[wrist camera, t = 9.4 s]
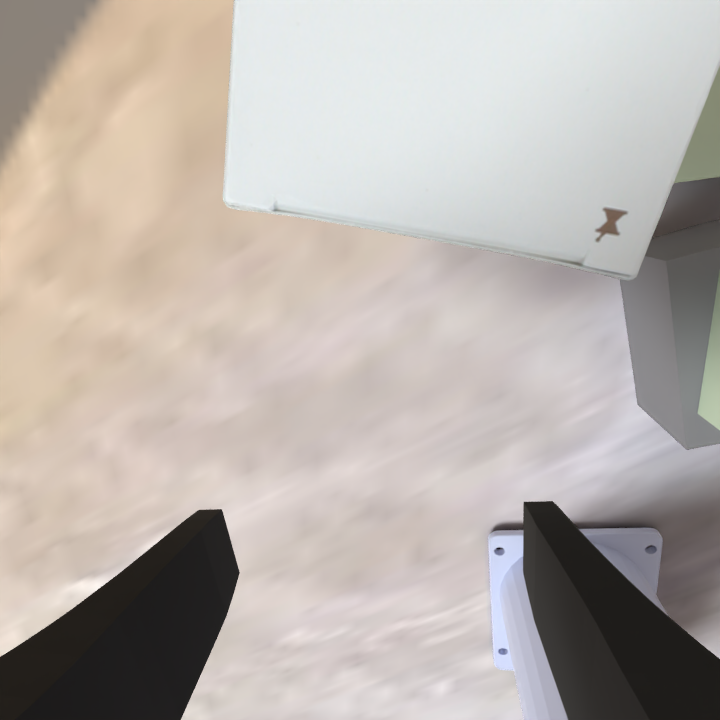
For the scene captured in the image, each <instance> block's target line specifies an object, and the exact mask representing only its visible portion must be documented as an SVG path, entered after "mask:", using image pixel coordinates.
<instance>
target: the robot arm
mask: <svg viewBox="0 0 720 720" xmlns="http://www.w3.org/2000/svg"><path fill="white" fill-rule="evenodd" d="M662 544H663V538H662V536H661V535H660V533H659V532H658V531H657V530H656V529H654V528H603V529H578V528H577V527H576V526H575V525H574V524H573V522H572V521H571V520H570V519H569V518H568V517H567V516H566V515H565V514H564V513H563V511H562V510H561V509H560V508H559V507H558V506H557V505H556V504H555V503H554V502H553V501H547V502H524V525H523V530H499V531H493V532H492V533H490V534H489V536H488V552H489V574H490V597H491V619H492V641H493V659H494V664H495V666H496V667H497V668H498V669H500V670H514V674H515V679H516V684H517V689H518V694H519V699H520V704H521V709H522V714H523V718H524V720H720V659H719V658H718V657H716V656H715V655H714V654H713V653H711V652H710V651H709V650H708V649H706V648H705V647H704V646H703V645H701V644H700V643H699V642H698V641H697V640H695V639H694V638H693V637H692V636H691V635H689V634H688V633H687V632H686V631H685V630H683V629H682V628H681V627H680V626H679V625H678V624H677V623H675V622H674V621H673V620H672V619H671V618H670V617H669V616H668V614H667V613H666V611H665V609H664V608H663V606H662V604H661V603H660V601H659V599H658V598H657V596H656V595H657V587H658V578H659V569H660V561H661V552H662ZM650 545H652V546H651V547H649V548H646V547H647V546H650ZM498 547H501V548H502V549H500V550H497V549H496V548H498ZM238 576H239V569H238V566H237V562H236V558H235V555H234V551H233V548H232V544H231V540H230V537H229V533H228V530H227V526H226V522H225V519H224V515H223V512H222V509H217V510H198V511H197V512H196V513H194V514H193V515H191V516H190V517H189V518H188V519H186V520H185V521H184V522H182V523H181V524H180V525H179V526H177V527H176V528H175V529H174V530H172V531H171V532H170V533H169V534H168V535H166V536H165V537H164V538H163V539H161V540H160V541H159V542H158V543H157V544H155V545H154V546H153V547H152V548H150V549H149V550H148V551H147V552H145V553H144V554H143V555H142V556H140V557H139V558H138V559H137V560H135V561H134V562H133V563H132V564H131V565H129V566H128V567H127V568H126V569H124V570H123V571H122V572H121V573H119V574H118V575H117V576H115V577H114V578H113V579H111V580H110V581H109V582H107V583H106V584H105V585H103V586H102V587H101V588H99V589H98V590H97V591H96V592H94V593H93V594H92V595H90V596H89V597H88V598H86V599H85V600H84V601H82V602H81V603H80V604H78V605H77V606H76V607H74V608H73V609H72V610H70V611H69V612H67V613H66V614H65V615H63V616H62V617H60V618H59V619H57V620H56V621H54V622H53V623H52V624H50V625H49V626H47V627H46V628H44V629H43V630H41V631H40V632H38V633H37V634H35V635H34V636H32V637H31V638H29V639H28V640H26V641H25V642H23V643H22V644H20V645H19V646H17V647H15V648H14V649H12V650H11V651H9V652H8V653H6V654H4V655H3V656H1V657H0V720H181V718H182V715H183V713H184V711H185V709H186V707H187V704H188V702H189V700H190V698H191V695H192V693H193V691H194V689H195V686H196V684H197V682H198V680H199V677H200V675H201V673H202V671H203V668H204V666H205V664H206V662H207V659H208V657H209V655H210V653H211V650H212V648H213V646H214V643H215V641H216V639H217V637H218V634H219V632H220V630H221V627H222V625H223V623H224V620H225V618H226V616H227V612H228V609H229V606H230V603H231V600H232V597H233V594H234V590H235V587H236V583H237V580H238Z"/></svg>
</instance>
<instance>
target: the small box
mask: <svg viewBox="0 0 720 720" xmlns="http://www.w3.org/2000/svg"><path fill="white" fill-rule="evenodd" d="M719 66H720V0H234V7H233V24H232V42H231V60H230V78H229V95H228V113H227V132H226V151H225V171H224V187H223V201H224V203H225V204H226V206H227V207H229V208H232V209H235V210H244V211H254V212H262V213H270V214H278V215H286V216H293V217H299V218H305V219H311V220H317V221H324V222H330V223H336V224H342V225H348V226H353V227H359V228H365V229H370V230H376V231H382V232H387V233H393V234H399V235H404V236H410V237H415V238H421V239H427V240H432V241H438V242H443V243H449V244H454V245H460V246H465V247H470V248H476V249H481V250H487V251H492V252H498V253H503V254H508V255H514V256H519V257H524V258H529V259H534V260H539V261H543V262H548V263H552V264H557V265H562V266H566V267H571V268H575V269H579V270H584V271H588V272H593V273H597V274H602V275H606V276H610V277H614V278H618V279H622V280H627V281H630V280H633V279H634V278H636V277H637V275H638V272H639V269H640V267H641V264H642V261H643V259H644V256H645V254H646V251H647V249H648V246H649V244H650V241H651V239H652V236H653V233H654V231H655V229H656V226H657V224H658V221H659V219H660V217H661V214H662V212H663V209H664V206H665V204H666V201H667V198H668V196H669V193H670V191H671V188H672V186H673V183H674V181H675V178H676V176H677V173H678V171H679V168H680V166H681V163H682V161H683V158H684V156H685V153H686V151H687V148H688V145H689V143H690V140H691V138H692V135H693V133H694V130H695V128H696V125H697V123H698V120H699V117H700V115H701V112H702V110H703V107H704V104H705V102H706V99H707V97H708V94H709V92H710V89H711V86H712V84H713V81H714V79H715V76H716V74H717V71H718V69H719Z"/></svg>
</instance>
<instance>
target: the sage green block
mask: <svg viewBox="0 0 720 720" xmlns="http://www.w3.org/2000/svg"><path fill="white" fill-rule="evenodd" d="M698 414H699V415H700V416H701V417H703V418H704V419H705V420H707V421H708V422H709V423H711V424H712V425H713V426H715V427H716V428H717V429H719V430H720V271H719V278H718V284H717V291H716V297H715V304H714V310H713V317H712V323H711V330H710V336H709V342H708V349H707V355H706V362H705V368H704V375H703V381H702V388H701V394H700V401H699V407H698Z"/></svg>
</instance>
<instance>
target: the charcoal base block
mask: <svg viewBox="0 0 720 720" xmlns="http://www.w3.org/2000/svg"><path fill="white" fill-rule="evenodd" d="M719 271H720V219H718V220H714V221H711V222H707V223H704V224H700V225H697V226H693V227H690V228H686V229H683V230H679V231H676V232H672V233H669V234H665V235H662V236H658V237H655V238H652V239H651V241H650V244H649V246H648V249H647V251H646V254H645V256H644V259H643V261H642V264H641V267H640V269H639V272H638V275H637V277H636V278H634V279H633V280H630V281H627V280H622V279H620V284H621V291H622V298H623V305H624V312H625V319H626V326H627V333H628V340H629V347H630V354H631V361H632V368H633V375H634V382H635V389H636V396H637V403H638V405H639V406H640V407H641V408H642V409H643V410H644V411H645V412H646V413H647V414H648V415H649V416H650V417H652V418H653V419H654V420H655V421H656V422H657V423H658V424H659V425H660V426H661V427H662V428H663V429H665V430H666V431H667V432H668V433H669V434H670V435H671V436H672V437H673V438H674V439H675V440H676V441H678V442H679V443H680V444H681V445H682V446H683V447H684V448H685V449H686V450H689V449H694V448H699V447H704V446H710V445H715V444H720V430H719V429H717V428H716V427H715V426H713V425H712V424H711V423H709V422H708V421H707V420H705V419H704V418H703V417H701V416H700V415H699V414H698V407H699V401H700V394H701V388H702V381H703V375H704V368H705V362H706V355H707V349H708V342H709V336H710V330H711V323H712V317H713V310H714V304H715V297H716V291H717V284H718V278H719Z"/></svg>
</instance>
